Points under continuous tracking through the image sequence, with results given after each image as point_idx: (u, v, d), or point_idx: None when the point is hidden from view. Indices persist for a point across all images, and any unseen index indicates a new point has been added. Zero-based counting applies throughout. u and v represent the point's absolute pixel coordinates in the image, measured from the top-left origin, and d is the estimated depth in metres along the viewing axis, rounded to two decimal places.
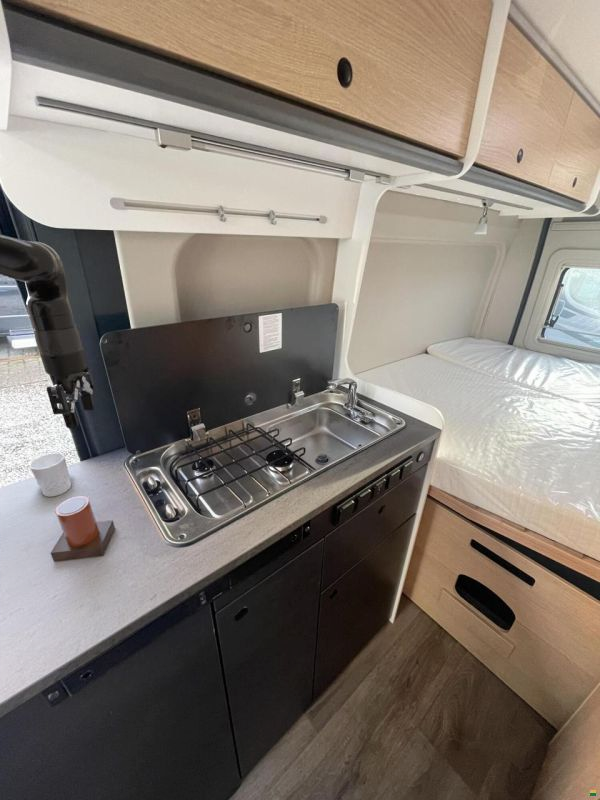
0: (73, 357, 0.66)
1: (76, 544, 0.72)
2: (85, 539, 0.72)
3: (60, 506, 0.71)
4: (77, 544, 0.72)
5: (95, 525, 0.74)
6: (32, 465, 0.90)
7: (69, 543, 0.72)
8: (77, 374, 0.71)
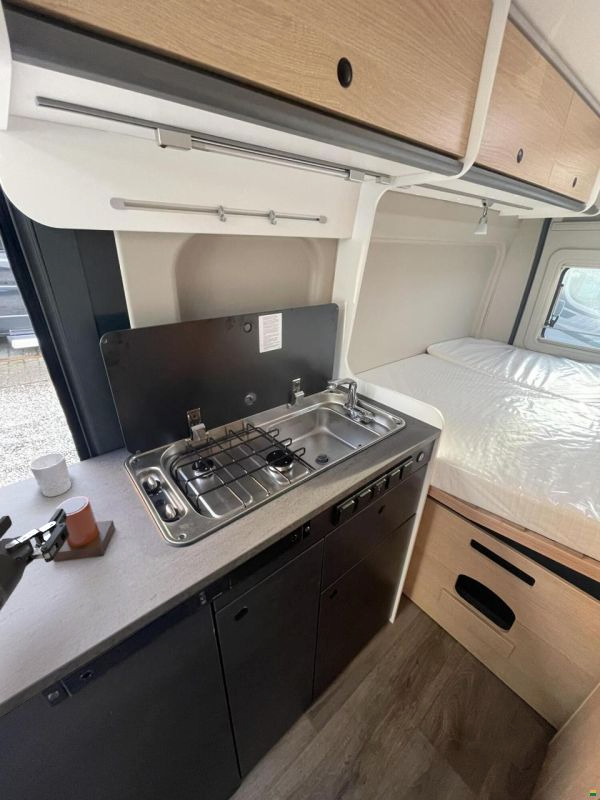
0: None
1: (76, 544, 0.72)
2: (85, 539, 0.72)
3: (60, 506, 0.71)
4: (77, 544, 0.72)
5: (95, 525, 0.74)
6: (32, 465, 0.90)
7: (69, 543, 0.72)
8: None
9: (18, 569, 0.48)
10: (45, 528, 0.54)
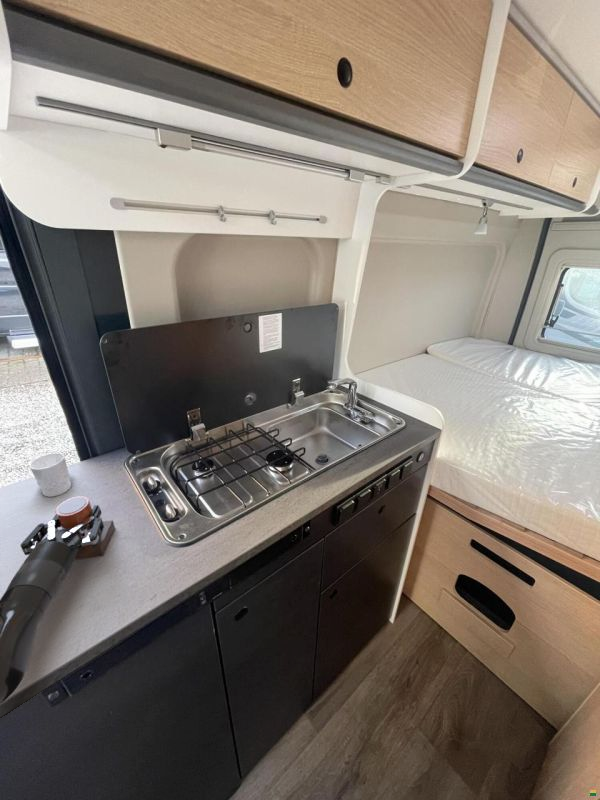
0: None
1: None
2: None
3: (60, 506, 0.71)
4: None
5: None
6: (32, 465, 0.90)
7: None
8: None
9: (72, 554, 0.63)
10: (87, 521, 0.70)
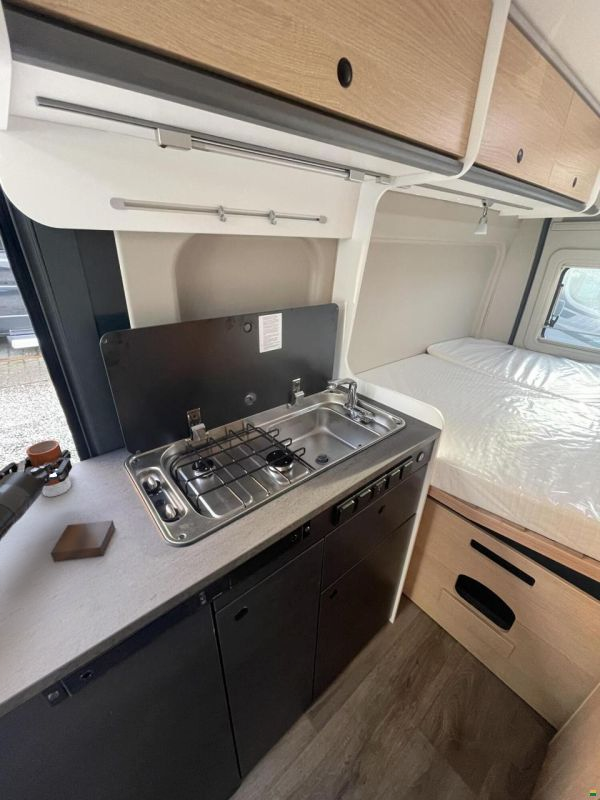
0: None
1: (47, 484, 0.77)
2: None
3: (31, 447, 0.76)
4: (47, 484, 0.77)
5: None
6: None
7: None
8: None
9: (39, 485, 0.69)
10: (55, 461, 0.75)
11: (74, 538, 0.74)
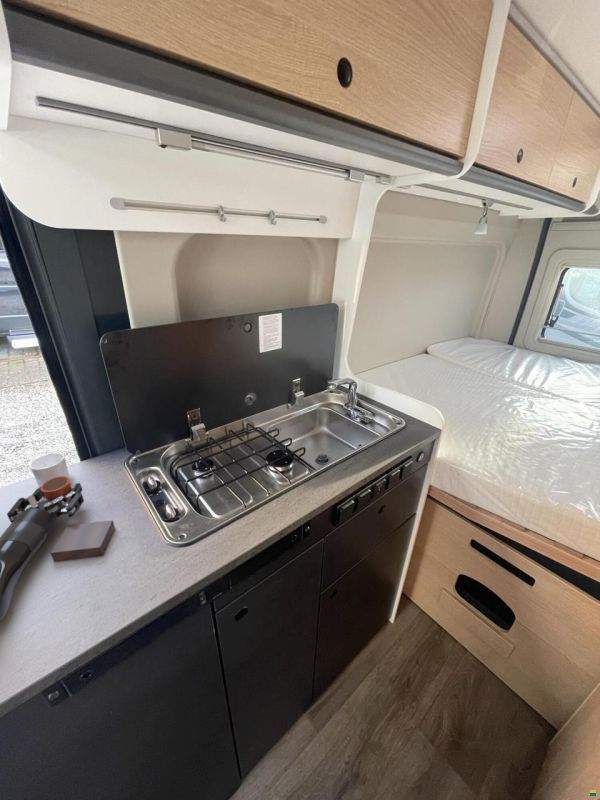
0: None
1: None
2: None
3: (45, 484, 0.83)
4: None
5: None
6: (32, 465, 0.90)
7: None
8: None
9: (52, 520, 0.76)
10: (68, 495, 0.82)
11: (74, 538, 0.74)
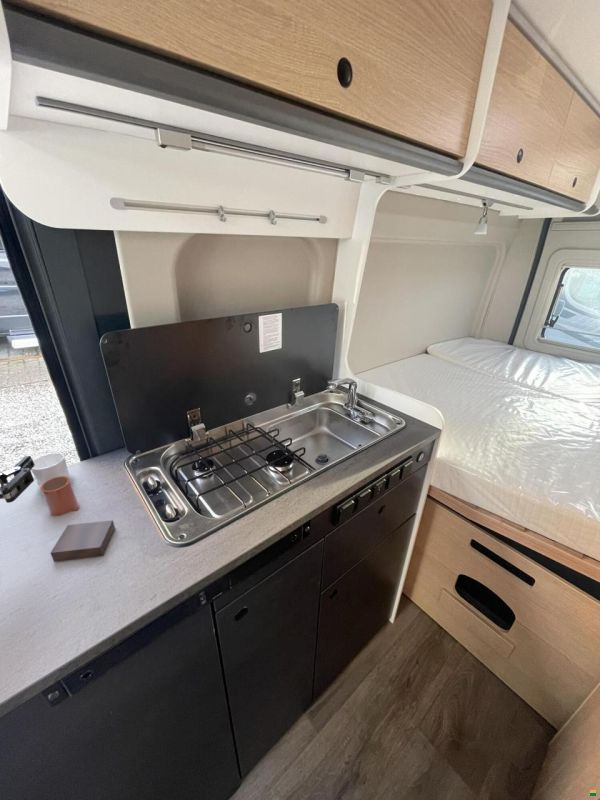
0: None
1: None
2: None
3: (45, 484, 0.83)
4: None
5: (75, 501, 0.87)
6: None
7: None
8: None
9: None
10: (9, 472, 0.56)
11: (74, 538, 0.74)
